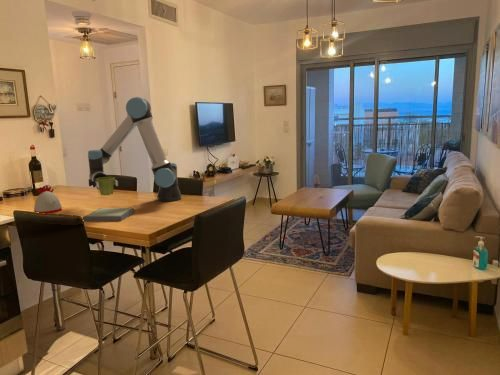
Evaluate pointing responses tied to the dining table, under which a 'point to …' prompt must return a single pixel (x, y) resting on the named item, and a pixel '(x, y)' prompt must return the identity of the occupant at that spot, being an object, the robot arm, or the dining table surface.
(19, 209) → the dining table surface
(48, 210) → the grey dome
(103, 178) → the plant pot
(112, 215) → the stand
